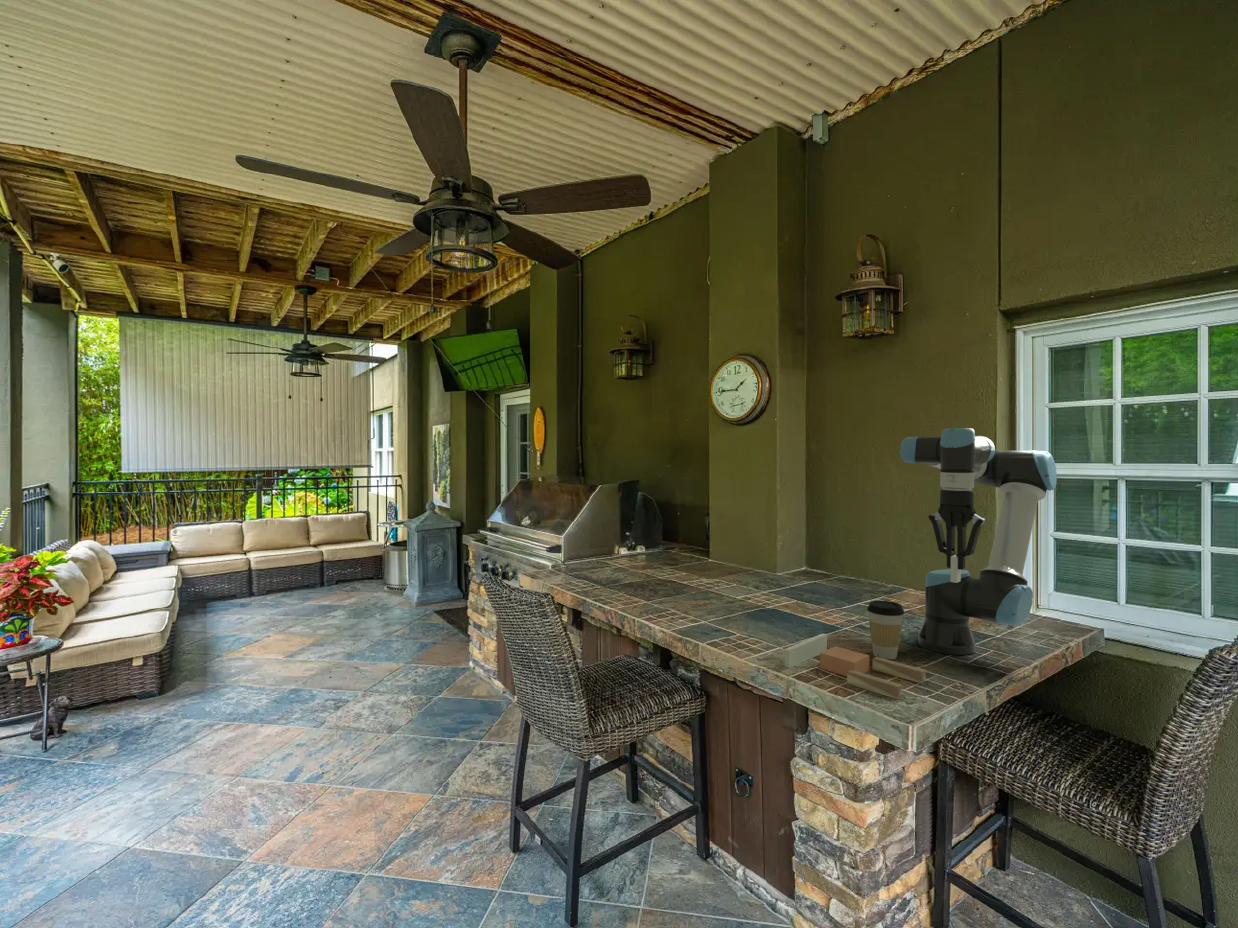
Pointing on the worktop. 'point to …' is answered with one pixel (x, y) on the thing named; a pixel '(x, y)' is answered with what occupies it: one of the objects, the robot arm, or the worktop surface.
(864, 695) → the worktop surface
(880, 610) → the coffee cup
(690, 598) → the worktop surface
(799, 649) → the board
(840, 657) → the block
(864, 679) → the chute
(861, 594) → the worktop surface
